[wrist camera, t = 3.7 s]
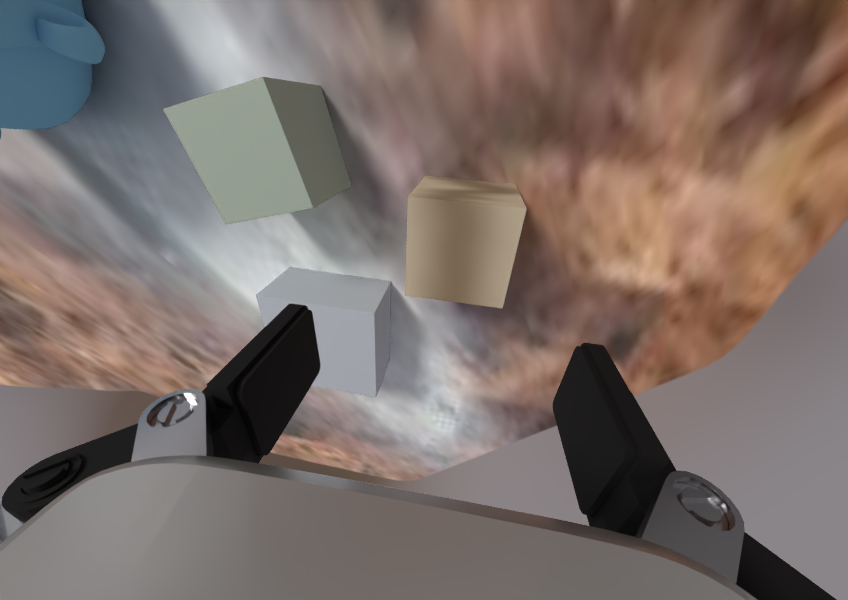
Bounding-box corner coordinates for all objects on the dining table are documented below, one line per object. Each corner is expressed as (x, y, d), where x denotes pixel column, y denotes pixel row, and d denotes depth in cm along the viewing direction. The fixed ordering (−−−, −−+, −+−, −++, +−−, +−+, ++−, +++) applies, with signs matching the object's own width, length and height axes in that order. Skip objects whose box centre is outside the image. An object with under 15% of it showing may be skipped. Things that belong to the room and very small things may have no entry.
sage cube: (320, 85, 19) (262, 76, 14) (351, 185, 22) (313, 207, 17) (241, 109, 20) (162, 108, 15) (281, 199, 23) (225, 224, 18)
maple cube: (515, 183, 20) (526, 208, 15) (497, 265, 23) (502, 308, 18) (425, 175, 21) (408, 196, 16) (421, 256, 24) (405, 295, 19)
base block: (391, 279, 26) (374, 313, 21) (390, 357, 30) (376, 397, 26) (291, 265, 26) (255, 294, 22) (306, 343, 31) (279, 379, 27)
